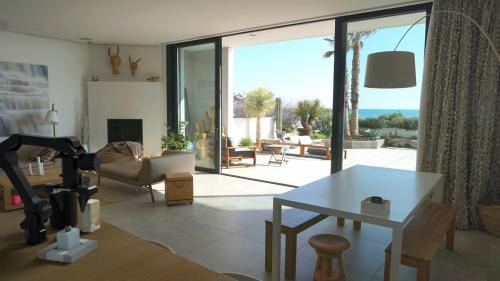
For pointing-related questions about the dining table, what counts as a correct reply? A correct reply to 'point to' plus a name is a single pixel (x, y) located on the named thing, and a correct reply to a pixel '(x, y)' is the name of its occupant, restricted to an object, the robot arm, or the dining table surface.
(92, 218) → the skincare box
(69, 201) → the coffee jar
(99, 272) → the dining table surface
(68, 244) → the plug
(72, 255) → the socket block
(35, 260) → the dining table surface
